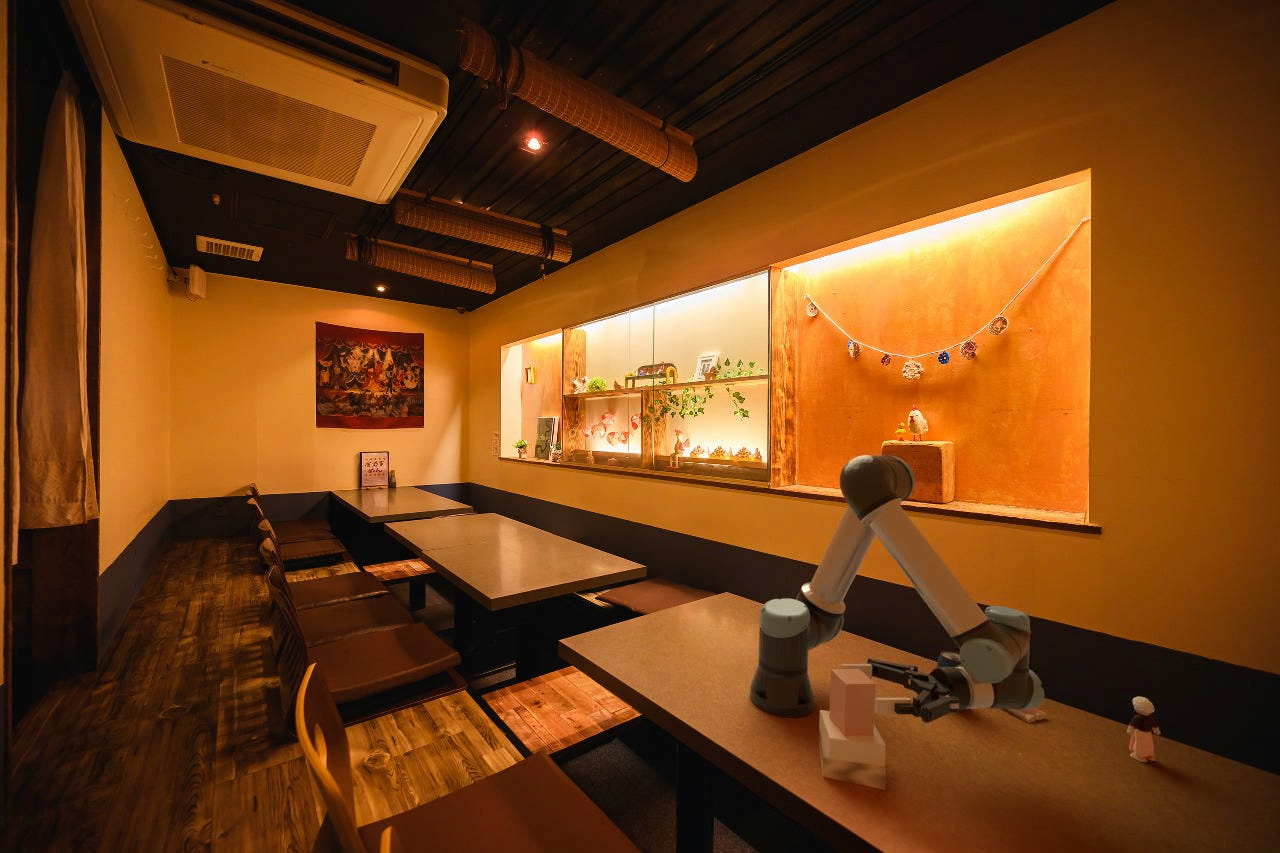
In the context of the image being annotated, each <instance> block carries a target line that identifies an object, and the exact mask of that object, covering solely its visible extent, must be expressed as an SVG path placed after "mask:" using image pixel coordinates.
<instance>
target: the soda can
mask: <svg viewBox="0 0 1280 853" xmlns="http://www.w3.org/2000/svg"><path fill="white" fill-rule="evenodd" d="M959 654H960V652H956V651H951V650H942V651H940V655H939V656H938V657H937V666H936V667H963V666H962V664H961V661H960V655H959ZM965 709H967V708H965ZM965 709H959V711H964V710H965Z"/></svg>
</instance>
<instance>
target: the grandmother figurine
mask: <svg viewBox="0 0 1280 853" xmlns="http://www.w3.org/2000/svg"><path fill="white" fill-rule="evenodd" d="M1132 705H1133V709H1134V711H1135V712H1136V713H1137V714H1135V715H1133V717H1132V718H1131V719H1130V721H1129V722H1128V726H1127V729H1126V733H1127V735H1130V736H1131V737H1130V742H1129V746H1128V747H1129V748H1128V750H1130V751H1131V753H1130V754H1129V756H1130V758H1133V759H1135V760H1136V761H1138V762H1141V763H1143V762H1149V760H1151V761H1150V762H1152V761H1155V760H1156V759H1155V757H1154V756H1155V751H1154V750H1155V748H1154V740H1153V736H1152V731H1153V733H1154V734H1155V735H1161V731H1160V727H1159V725H1158V723H1157V722H1156V720H1155V719H1154V717H1153V716H1152V715H1151V714H1153V713H1154V712H1155V707H1154V705H1153V702H1152V701H1150V700H1149V699H1148V698H1147V697H1143V696H1136V697H1133V698H1132ZM1147 759H1148V760H1147Z"/></svg>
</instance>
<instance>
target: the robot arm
mask: <svg viewBox="0 0 1280 853" xmlns="http://www.w3.org/2000/svg"><path fill="white" fill-rule="evenodd" d="M915 487H916V478H915V474H914V471H913V470H912V468H911V466H910V465H909V464H908V463H907V462H906V461H905V460H903V459H901V458H900V457H897V456H892V455H890V454H876V455H872V454H871V455H868V454H865V455H864V454H863V455H859V456H855V457H853V458H852V459H850V460H849V461H847V462H846V463H845V465H843V468H842V470H841V471H840V474H839V488H840V491H841V493H842V496H843V498H844V500H845V501H846V503H847V507H846V509H845V511H844V513H843V515H842V517H841V520H840V522H839V523H838V525H837V528H836V530H835V532H834V534H833V536H832V538H831V540H830V542H829V544H828V546H827V548H826V550H825V553H824V554H823V556H822V558H821V560H820V562H819V564H818V567H817V569H816V570H815V573H814V575H813V577H812V580H811V581H810V582H805V583H803V585H801V588H800V590H799V592H798V594H797V596H796V598H795V599H794V598H788V597H786V598H785V597H784V598H783V597H782V598H781V599H780V598H774V599H770V600H768V601H767V602H765V603H764V604H763V605H762V607H761V609H760V615H759V620H758V625H759V634H758V637H759V639H758V666H757V668H756V669H755V670H756V671H755V673H754V675H753V678H752V680H751V683H750V686H749V687H750V690H749V691H750V692H749V697H750V700H751V701H752V703H753V704H754V705H755V706H757V708H759V709H761V710H763V711H764V712H766V713H770V714H772V715H775V716H779V717H783V718H784V717H785V718H801V717H804V716H807V715H809V714H811V713H812V712H813V711H814V708H815V695H814V692H813V687H812V684H811V681H810V676H809V674H808V670H809V669H808V668H809V666H808V665H809V652H810V651H811V650H813V649H814V648H817V647H819V646H821V645H822V644H825V643H828V642H830V641H832V640H833V639H834V638H836V637H837V636H838V634H839V633H840V632H841V630H842V628H843V626H844V618H845V617H844V613H845V611H846V604H845V603H844V598H845V597H846V594H848V592H849V588H850V586H851V585H852V583H853V581H854V579H855V578H856V575H857V573H858V572H859V569H860V568H861V566H862V563H863V561H864V560H865V558H866V556H867V554H868V551H869V550H870V548H871V546H872V544H873V542H874V540H875V539H876V537H877V538H878V540H880V542H881V544H882V545H883V546H884V548H885V549H886V550H887V552H888V553H889V555H890V556H891V558H893V560H894V561H895V562H896V564H897V565H898V567H899V568H900V569H901V571H902V572H903V573H904V575H905V577H907V579H908V580H909V582H910V583H911V584H912V587H914V588H915V590H916V591H917V593H918V594H919V595H920V597H921V598H922V600H923V601H924V602H925V603H926V604H927V606H928V608H929V609H930V610H931V611H932V613H933V615H935V617H936V619H938V621H939V622H940V624H941V625H942V626H943V627H944V629H945V630H946V632H947V634H948V635H949V636H950V637H951V639H952V641H953V642H954V644H956V646H957V647H958V649H959V653H960V654H959V655H960V661H961V664H962V666H963V667H937V666H936V667H935V668H933V669H932V671H931V672H930V673H929V674H927V673H926V672H921V671H920V672H919V666H917V665H910V664H909V665H908V664H907V665H906V664H901V663H896V662H890V661H886V660H880V659H875V658H867V660H866V662H867V663H840V669H860V670H861V671H862V672H863V673H864V674H865V675H866V676H867V677H869V678H870V679H871V680H872V679H873V677H874V678H877V679H879V680H880V679H881V680H884V681H888V682H891V683H894V684H898V685H902V686H903V688H905V689H907V690H910V691H913V692H915V693H916V694H917V696H916V697H914V696H912V699H911V698H910V697H875V709H874V714H876V715H903V716H904V715H912V716H913V717H915V718H921V721H922V722H923V723H927V724H930V723H932V722H934V721H936V720H938V719H940V718H942V717H945V716H946V715H949V714H955V713H959V712H960V710H959V709H964V710H965V708H966V709H971V710H976V709H978V710H979V709H990V710H991V709H993V710H997V709H998V710H1000V709H1001V710H1004V709H1016V710H1019V709H1029V708H1038V707H1039V706H1041V705H1042V704H1043V702H1044V699H1045V690H1044V688H1043V687H1042V681H1041V679H1040V678H1039V676H1038V675H1037V674H1036V672H1034V671H1033V670H1031V669H1030V667H1029V665H1030V642H1031V634H1032V631H1031V626H1030V625H1031V620H1030V617H1029V616H1028V615H1027V614H1026V613H1025V612H1023V611H1021V610H1019V609H1015V608H1010V607H1008V606H1003V605H1002V606H1001V605H991V606H988V607H986V608H985V610H984V612H983V610H982V609H981V607H980V606H979V605H978V603H977V602H976V601H975V600H974V599H973V597H972V596H971V594H970V593H969V592H968V591H967V590H966V588H965V587H964V586H963V585H962V583H961V582H960V581H959V579H958V578H957V577H956V575H955V574H954V572H952V570H951V569H950V568H949V567H948V566H947V564H946V563H945V561H944V560H943V559H942V558H941V556H940V555H939V554H938V552H937V550H935V548H934V547H933V546H932V544H930V542H929V541H928V539H927V538H926V537H925V536H924V535H923V534H922V532H921V530H920V529H919V528H918V527H917V526H916V524H915V523H914V522H913V521H912V519H911V518H910V517H909V515H908V514H907V512H905V510H904V508H902V506H901V504H902V502H904V501H906V500H908V499H909V497H910V496H912V493H913V492H914V490H915Z"/></svg>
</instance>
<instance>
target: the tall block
mask: <svg viewBox="0 0 1280 853" xmlns="http://www.w3.org/2000/svg"><path fill="white" fill-rule="evenodd" d="M829 688H830V691H829V692H830V693H829V711H830V712H829V718H830V719H831V721H832V722H833V723H834V724H835V725H836V727H837V728H838V729H839V730H840V731H841V733H842V734H843V735H844V736H858V735H874V725H875V698H876V683H875V682H874V681H873V680H872V678H871V679H870V678H869V677H867V676H866V675H865V674H864V673H863V672H862V671H861V670H860V669H841V668H833V669H832V668H831V669H830V686H829Z"/></svg>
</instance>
